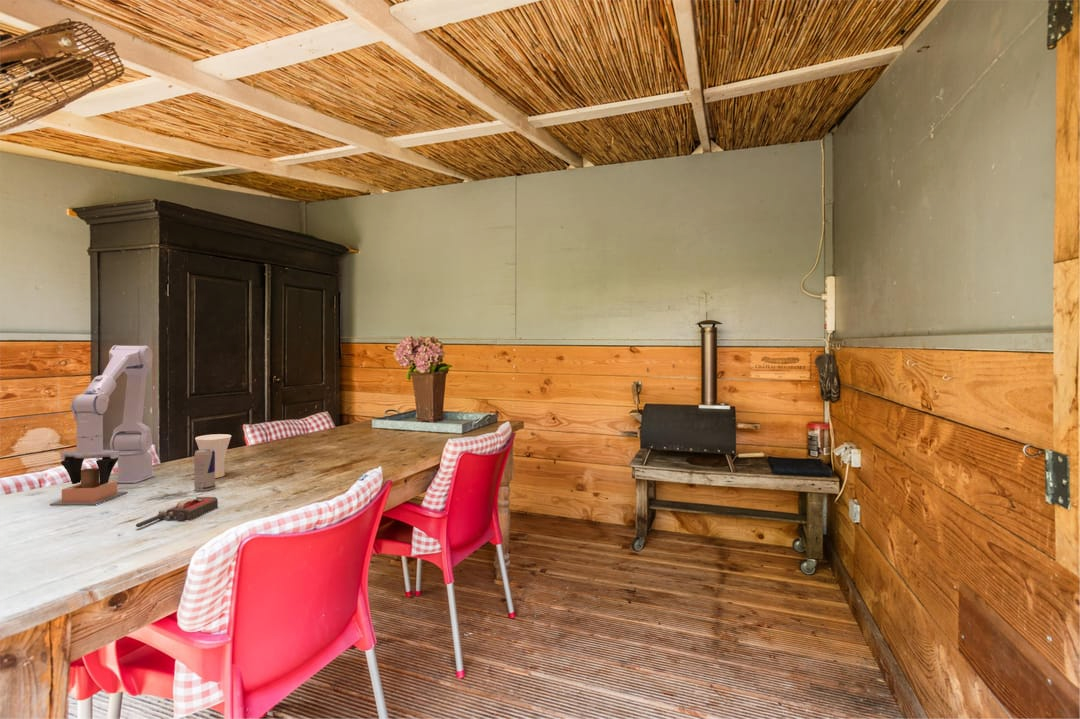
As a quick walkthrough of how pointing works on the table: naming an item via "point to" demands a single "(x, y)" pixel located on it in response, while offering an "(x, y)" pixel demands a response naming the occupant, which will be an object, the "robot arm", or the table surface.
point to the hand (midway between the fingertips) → (90, 483)
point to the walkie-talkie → (185, 510)
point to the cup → (215, 449)
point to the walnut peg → (90, 478)
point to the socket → (89, 494)
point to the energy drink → (204, 470)
